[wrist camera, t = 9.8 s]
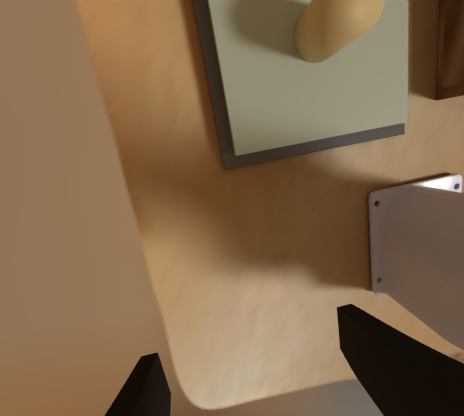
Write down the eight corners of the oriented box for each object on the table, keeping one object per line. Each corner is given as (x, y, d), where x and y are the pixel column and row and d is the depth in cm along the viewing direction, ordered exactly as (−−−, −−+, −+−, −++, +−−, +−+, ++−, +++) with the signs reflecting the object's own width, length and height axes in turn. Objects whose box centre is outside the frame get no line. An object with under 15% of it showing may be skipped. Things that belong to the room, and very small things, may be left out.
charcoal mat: (400, 134, 19) (404, 134, 19) (224, 169, 18) (224, 169, 18) (399, -94, 16) (404, -100, 15) (179, -67, 15) (178, -73, 14)
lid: (394, 123, 19) (466, 115, 14) (233, 155, 18) (247, 158, 13) (392, -84, 15) (486, -195, 10) (195, -59, 14) (193, -168, 9)
